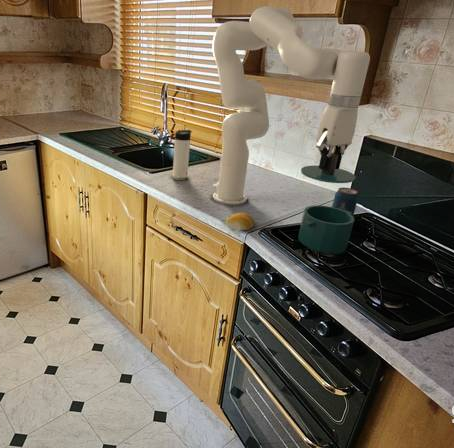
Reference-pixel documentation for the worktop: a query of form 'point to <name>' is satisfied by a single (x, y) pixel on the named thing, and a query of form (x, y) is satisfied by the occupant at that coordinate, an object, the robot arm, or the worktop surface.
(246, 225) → the bread roll
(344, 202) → the soda can
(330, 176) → the lid
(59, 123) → the worktop surface
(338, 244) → the pot
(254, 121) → the robot arm
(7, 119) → the worktop surface
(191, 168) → the worktop surface
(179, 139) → the travel mug
